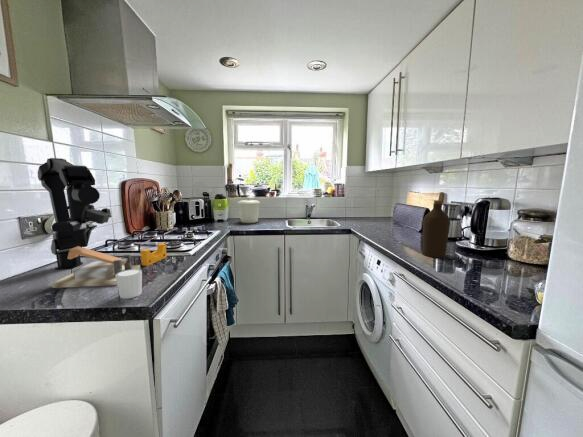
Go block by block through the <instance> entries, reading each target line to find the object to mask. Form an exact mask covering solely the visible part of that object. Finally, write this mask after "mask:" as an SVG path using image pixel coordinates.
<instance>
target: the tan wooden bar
mask: <svg viewBox="0 0 583 437" xmlns="http://www.w3.org/2000/svg"><path fill="white" fill-rule="evenodd" d="M79 255H80V256H83V257H85V258H89V259H93V260H95V261H96V260H97V261H103V262H107V263H110V264H114V263H113V261H114V260H121V265H122V266H123V265H124V264H125V263H126V262H127V261H128V258H124V257H123V258H121V257H117V256H114V255H110V254H106V253H103V252H99V251H97V250H92V249H89V248H86V247H79V246H77V247H74V248H72V249H70V250H69V254H68V258H67V259H73V258H75V257H77V256H79Z"/></svg>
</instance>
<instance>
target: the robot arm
mask: <svg viewBox="0 0 583 437" xmlns="http://www.w3.org/2000/svg"><path fill="white" fill-rule="evenodd" d="M37 178H38V181H40V184H41V186H42V187H43V188H44V189H45V191H47V192H48V193H49V198H50V199H49V200H50V204H51V207H52V212H53V217H54V221H55V222H53V223H52V224H51V231H52V233H53V234H52V240H51V244H50V250H51V254H52V255H54V256H55V257H56V263H57V266H56V267H54V269H55V270H65V269H74V268H76V267H79V266H81V265H82V264H84V262H83V261H82V260H81V255H79V256H77V257H75V258H73V259H67V258H68V254H69V250H70V249H72V248H74V247H77V246H79V247H83V248H86V247H88V244H89V240H90V236H91V234H92V231H93V230H94V229H96V227H98V225H97V224H99V225H100V224H101V225H102V224H104V223H108V222H109V219H110V218H112V213H111V209H110V208H107V207H105V208H102V209H95V205H94V204H95V203H97V202H98V201H99V199H100V198H101V197H100V195H101V194H100V192H99V191H98V189H97V188H95V187H94V186H95V185H96V179H95V177H94V175H93V173H92V172H91V170H90V169H89V168H88V166H87V165H75V164H73V163H71V162H69V161H67V160H66V159H65V158H62V157H61V158H60V157H56V158H55V157H50V158H46V161H45V162H44V163H43V164H40V165H39V166H38V170H37ZM65 190H66V191H65ZM65 192H66V194H65ZM66 198H67V199H66ZM94 223H96V224H95V225H94Z"/></svg>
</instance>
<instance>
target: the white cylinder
mask: <svg viewBox="0 0 583 437" xmlns="http://www.w3.org/2000/svg"><path fill="white" fill-rule="evenodd" d="M115 276H116V281H117V285H116V286H117V289H118V293H119V297H120V299H133V298H137V297H138V296H140V295H141V294H142V290H143V287H142V283H143V281H142V280H143V270H142V269H130V270H125V271H121V272H119V273H117V274H116V275H115Z"/></svg>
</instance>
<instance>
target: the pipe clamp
mask: <svg viewBox="0 0 583 437" xmlns="http://www.w3.org/2000/svg"><path fill="white" fill-rule="evenodd" d="M156 248H157V249H156V250H154V251H152V252H151V250H150V249H147V248H146V249H145V248H144V249H141V250H140V258H141V266H146V267H147V266H151V265H153V264H155V263H157V262H159V261H162V260H163V259H166V258H167V257H168V254H167V244H166V243H163V242H161V243H158V244H157V247H156Z"/></svg>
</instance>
